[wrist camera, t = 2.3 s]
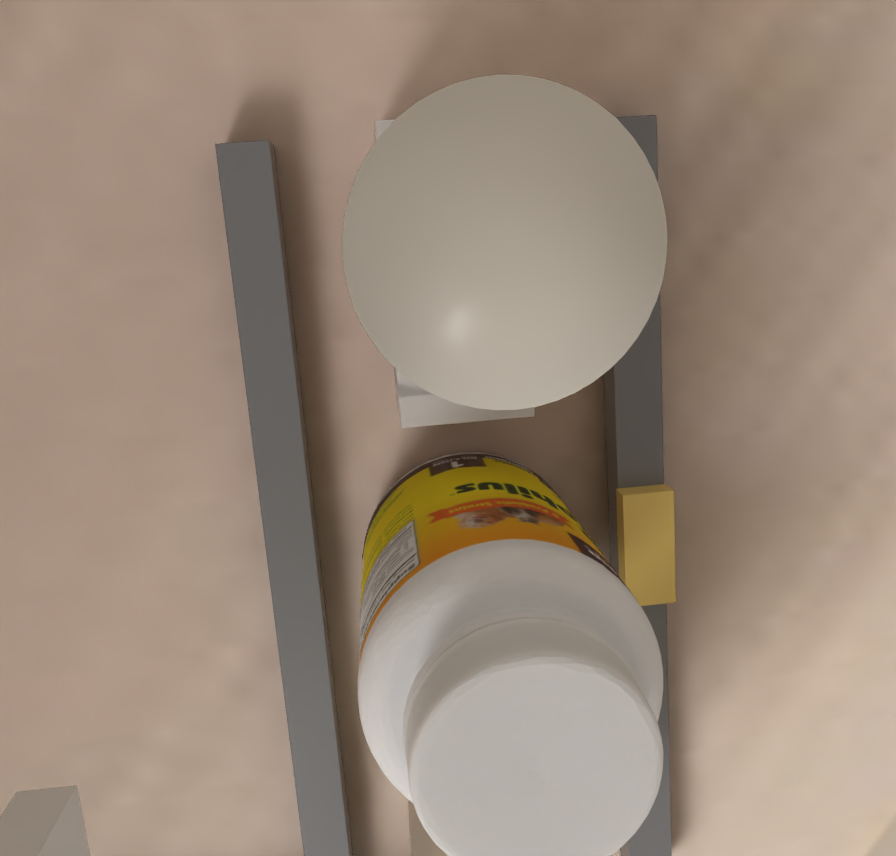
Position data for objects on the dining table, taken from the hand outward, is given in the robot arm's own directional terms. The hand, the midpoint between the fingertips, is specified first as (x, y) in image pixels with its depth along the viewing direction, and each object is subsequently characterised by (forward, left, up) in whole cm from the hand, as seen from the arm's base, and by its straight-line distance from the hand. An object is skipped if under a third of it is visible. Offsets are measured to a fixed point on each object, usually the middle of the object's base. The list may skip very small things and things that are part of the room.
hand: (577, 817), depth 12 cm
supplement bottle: (0, 0, -12) cm, 12 cm away
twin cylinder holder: (0, 0, -12) cm, 12 cm away
